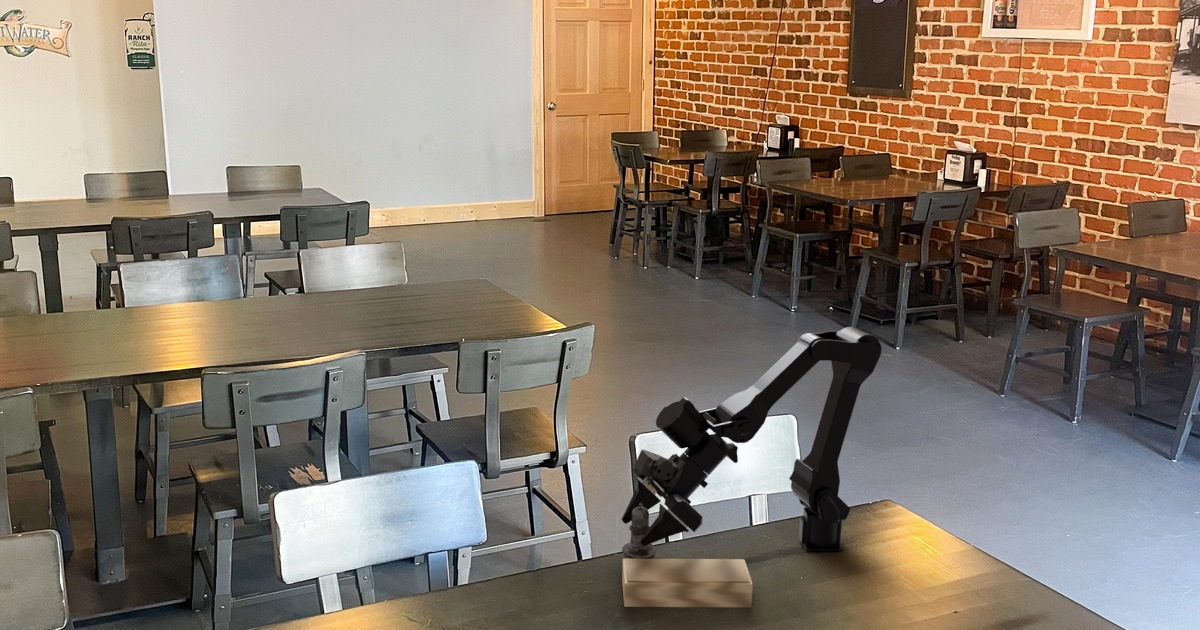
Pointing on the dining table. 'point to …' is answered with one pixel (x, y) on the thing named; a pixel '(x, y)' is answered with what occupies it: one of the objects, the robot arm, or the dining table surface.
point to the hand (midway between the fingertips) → (632, 532)
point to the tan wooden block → (686, 583)
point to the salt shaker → (639, 536)
